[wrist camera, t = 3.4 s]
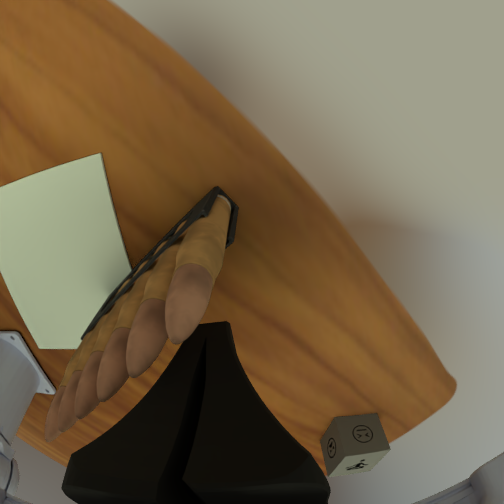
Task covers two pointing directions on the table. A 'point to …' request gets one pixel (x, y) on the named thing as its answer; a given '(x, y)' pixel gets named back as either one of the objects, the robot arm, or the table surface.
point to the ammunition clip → (147, 311)
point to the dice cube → (353, 444)
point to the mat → (61, 249)
